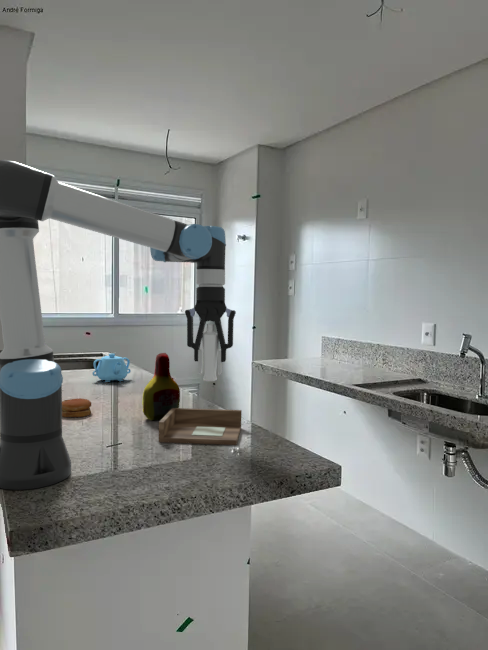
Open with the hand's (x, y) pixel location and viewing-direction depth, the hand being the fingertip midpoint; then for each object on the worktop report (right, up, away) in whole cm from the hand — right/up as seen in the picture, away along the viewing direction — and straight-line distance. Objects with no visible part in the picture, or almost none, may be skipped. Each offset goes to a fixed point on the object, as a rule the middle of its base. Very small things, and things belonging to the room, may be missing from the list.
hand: (210, 373), depth 131 cm
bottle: (-16, -16, +19) cm, 30 cm away
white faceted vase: (0, -2, 0) cm, 2 cm away
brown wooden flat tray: (-2, -17, +2) cm, 17 cm away
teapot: (-48, -11, +81) cm, 95 cm away
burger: (-44, -15, +23) cm, 51 cm away
